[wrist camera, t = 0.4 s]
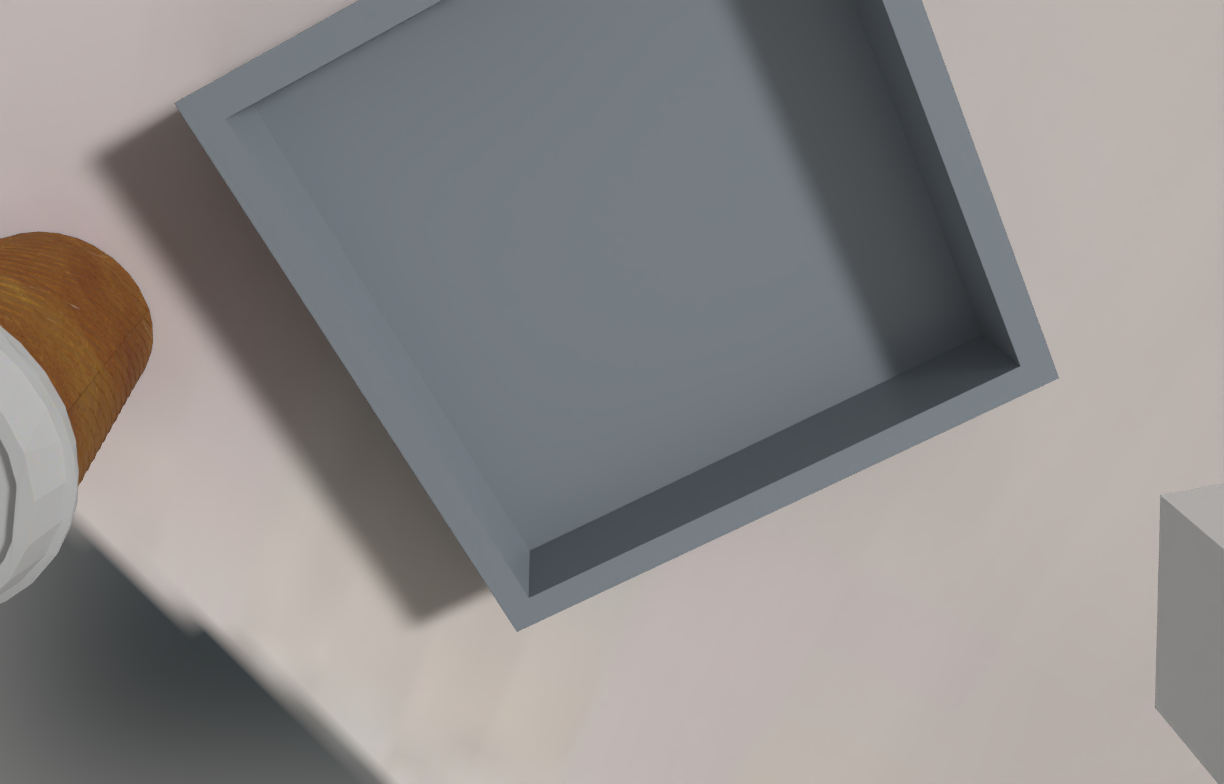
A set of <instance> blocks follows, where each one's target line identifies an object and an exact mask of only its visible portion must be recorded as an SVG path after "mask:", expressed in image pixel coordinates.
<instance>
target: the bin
mask: <svg viewBox="0 0 1224 784" xmlns="http://www.w3.org/2000/svg"><path fill="white" fill-rule="evenodd" d="M174 104H175V105H176V107H177V108H178V110H179V111H180V113H181V114H182V116H183V117H184V119H185V121H186V122H187V124H188V125H189V127H190V128H191V130H192V131H193V133H194V134H195V136H196V138H197V139H198V141H199V142H200V144H201V145H202V147H203V148H204V150H205V151H206V153H207V154H208V156H209V158H210V159H211V161H212V162H213V164H214V165H215V167H216V168H217V170H218V171H219V173H220V175H221V176H222V178H223V179H224V181H225V182H226V184H227V185H228V187H229V188H230V190H231V191H232V193H233V195H234V196H235V198H236V199H237V201H238V202H239V204H240V205H241V207H242V208H243V210H244V212H245V213H246V215H247V216H248V218H249V219H250V221H251V222H252V224H253V225H254V227H255V229H256V230H257V232H258V233H259V235H260V236H261V238H262V239H263V241H264V242H265V244H266V245H267V247H268V249H269V250H270V252H271V253H272V255H273V256H274V258H275V259H276V261H277V262H278V264H279V266H280V267H281V269H282V270H283V272H284V273H285V275H286V276H287V278H288V279H289V281H290V282H291V284H292V286H293V287H294V289H295V290H296V292H297V293H298V295H299V296H300V298H301V299H302V301H303V303H304V304H305V306H306V307H307V309H308V310H309V312H310V313H311V315H312V316H313V318H314V320H315V321H316V323H317V324H318V326H319V327H320V329H321V330H322V332H323V333H324V335H325V336H326V338H327V340H328V341H329V343H330V344H331V346H332V347H333V349H334V350H335V352H336V353H337V355H338V357H339V358H340V360H341V361H342V363H343V364H344V366H345V367H346V369H347V370H348V372H349V373H350V375H351V377H352V378H353V380H354V381H355V383H356V384H357V386H358V387H359V389H360V390H361V392H362V394H363V395H364V397H365V398H366V400H367V401H368V403H369V404H370V406H371V407H372V409H373V411H374V412H375V414H376V415H377V417H378V418H379V420H380V421H381V423H382V424H383V426H384V427H385V429H386V431H387V432H388V434H389V435H390V437H391V438H392V440H393V441H394V443H395V444H396V446H397V448H398V449H399V451H400V452H401V454H402V455H403V457H404V458H405V460H406V461H407V463H408V464H409V466H410V468H411V469H412V471H413V472H414V474H415V475H416V477H417V478H418V480H419V481H420V483H421V485H422V486H423V488H424V489H425V491H426V492H427V494H428V495H429V497H430V498H431V500H432V502H433V503H434V505H435V506H436V508H437V509H438V511H439V512H440V514H441V515H442V517H443V518H444V520H445V522H446V523H447V525H448V526H449V528H450V529H451V531H452V532H453V534H454V535H455V537H456V539H457V540H458V542H459V543H460V545H461V546H462V548H463V549H464V551H465V552H466V554H467V555H468V557H469V559H470V560H471V562H472V563H473V565H474V566H475V568H476V569H477V571H478V572H479V574H480V576H481V577H482V579H483V580H484V582H485V583H486V585H487V586H488V588H489V589H490V591H491V593H492V594H493V596H494V597H495V599H496V600H497V602H498V603H499V605H500V606H501V608H502V609H503V611H504V613H505V614H506V616H507V617H508V619H509V620H510V622H511V623H512V625H513V626H514V628H515V630H516V631H517V632H518V631H520V630H522V629H524V628H526V627H528V626H530V625H533V624H535V623H537V622H539V621H541V620H543V619H545V618H548V617H550V616H552V615H554V614H556V613H558V612H560V611H562V610H565V609H567V608H569V607H571V606H573V605H575V604H577V603H580V602H582V601H584V600H586V599H588V598H590V597H592V596H595V595H597V594H599V593H601V592H603V591H605V590H607V589H609V588H612V587H614V586H616V585H618V584H620V583H622V582H624V581H627V580H629V579H631V578H633V577H635V576H637V575H639V574H642V573H644V572H646V571H648V570H650V569H652V568H654V567H656V566H659V565H661V564H663V563H665V562H667V561H669V560H671V559H674V558H676V557H678V556H680V555H682V554H684V553H686V552H688V551H691V550H693V549H695V548H697V547H699V546H701V545H703V544H706V543H708V542H710V541H712V540H714V539H716V538H718V537H721V536H723V535H725V534H727V533H729V532H731V531H733V530H735V529H738V528H740V527H742V526H744V525H746V524H748V523H750V522H753V521H755V520H757V519H759V518H761V517H763V516H765V515H768V514H770V513H772V512H774V511H776V510H778V509H780V508H782V507H785V506H787V505H789V504H791V503H793V502H795V501H797V500H800V499H802V498H804V497H806V496H808V495H810V494H812V493H815V492H817V491H819V490H821V489H823V488H825V487H827V486H829V485H832V484H834V483H836V482H838V481H840V480H842V479H844V478H847V477H849V476H851V475H853V474H855V473H857V472H859V471H862V470H864V469H866V468H868V467H870V466H872V465H874V464H876V463H879V462H881V461H883V460H885V459H887V458H889V457H891V456H894V455H896V454H898V453H900V452H902V451H904V450H906V449H909V448H911V447H913V446H915V445H917V444H919V443H921V442H923V441H926V440H928V439H930V438H932V437H934V436H936V435H938V434H941V433H943V432H945V431H947V430H949V429H951V428H953V427H956V426H958V425H960V424H962V423H964V422H966V421H968V420H970V419H973V418H975V417H977V416H979V415H981V414H983V413H985V412H988V411H990V410H992V409H994V408H996V407H998V406H1000V405H1002V404H1005V403H1007V402H1009V401H1011V400H1013V399H1015V398H1017V397H1020V396H1022V395H1024V394H1026V393H1028V392H1030V391H1032V390H1035V389H1037V388H1039V387H1041V386H1043V385H1045V384H1047V383H1049V382H1052V381H1054V380H1056V379H1058V378H1059V377H1058V374H1057V371H1056V369H1055V366H1054V363H1053V360H1052V358H1051V355H1050V352H1049V349H1048V347H1047V344H1046V341H1045V338H1044V336H1043V333H1042V330H1041V327H1040V325H1039V322H1038V319H1037V316H1036V314H1035V311H1034V308H1033V305H1032V303H1031V300H1030V297H1029V294H1028V292H1027V289H1026V286H1025V283H1024V281H1023V278H1022V275H1021V272H1020V270H1019V267H1018V264H1017V261H1016V259H1015V256H1014V253H1013V250H1012V248H1011V245H1010V242H1009V239H1008V237H1007V234H1006V231H1005V228H1004V226H1003V223H1002V220H1001V217H1000V215H999V212H998V209H997V206H996V204H995V201H994V198H993V195H992V193H991V190H990V187H989V184H988V182H987V179H986V176H985V173H984V171H983V168H982V165H981V162H980V160H979V157H978V154H977V151H976V149H975V146H974V143H973V140H972V138H971V135H970V132H969V129H968V127H967V124H966V121H965V118H964V116H963V113H962V110H961V107H960V105H959V102H958V99H957V96H956V94H955V91H954V88H953V85H952V83H951V80H950V77H949V74H948V72H947V69H946V66H945V63H944V61H943V58H942V55H941V52H940V50H939V47H938V44H937V42H936V39H935V36H934V33H933V31H932V28H931V25H930V22H929V20H928V17H927V14H926V11H925V9H924V6H923V3H922V0H359V1H357V2H356V3H354V4H352V5H350V6H348V7H347V8H345V9H343V10H341V11H339V12H338V13H336V14H334V15H332V16H330V17H329V18H327V19H325V20H323V21H321V22H320V23H318V24H316V25H314V26H312V27H311V28H309V29H307V30H305V31H303V32H302V33H300V34H298V35H296V36H294V37H293V38H291V39H289V40H287V41H285V42H284V43H282V44H280V45H278V46H276V47H275V48H273V49H271V50H269V51H267V52H266V53H264V54H262V55H260V56H258V57H257V58H255V59H253V60H251V61H249V62H248V63H246V64H244V65H242V66H240V67H239V68H237V69H235V70H233V71H231V72H230V73H228V74H226V75H224V76H222V77H221V78H219V79H217V80H215V81H213V82H212V83H210V84H208V85H206V86H204V87H203V88H201V89H199V90H197V91H195V92H194V93H192V94H190V95H188V96H186V97H185V98H183V99H181V100H179V101H177V102H175V103H174Z"/></svg>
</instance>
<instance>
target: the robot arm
mask: <svg viewBox="0 0 1224 784" xmlns="http://www.w3.org/2000/svg"><path fill="white" fill-rule="evenodd" d="M1155 708H1156V709H1157V711H1158V712H1159V713H1160V714H1161V715H1162V717H1163V718H1164V719H1165V720H1166V721H1167V723H1168V724H1169V725H1170V726H1171V727H1172V729H1173V730H1174V731H1175V732H1176V733H1177V735H1178V736H1179V737H1180V738H1181V739H1182V741H1183V742H1184V743H1185V744H1186V746H1187V747H1188V748H1189V749H1190V750H1191V752H1192V753H1193V754H1194V755H1195V756H1196V758H1197V759H1198V760H1199V761H1200V762H1201V764H1202V765H1203V766H1204V767H1205V768H1206V770H1207V771H1208V772H1209V773H1210V774H1211V776H1212V777H1213V778H1214V779H1215V780H1216V782H1217V783H1218V784H1224V484H1219V485H1213V486H1208V487H1202V488H1197V489H1191V490H1186V491H1181V492H1175V493H1170V494H1164V495H1160V532H1159V571H1158V610H1157V649H1156V689H1155Z"/></svg>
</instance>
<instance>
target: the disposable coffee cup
mask: <svg viewBox="0 0 1224 784" xmlns="http://www.w3.org/2000/svg"><path fill="white" fill-rule="evenodd" d="M152 343H153V331H152V321H151V316H150V311H149V308H148V306H147V304H146V302H145V300H144V297H143V295H142V293H141V291H140V289H139V287H138V286H137V284H136V283H135V282H134V280H133V279H132V277H131V276H130V275H129V273H128V272H127V271H126V270H125V269H124V268H122V267H121V266H120V265H119V264H118V263H117V262H116V261H115V260H114V259H113V258H112V257H110V256H109V255H107V254H105V253H104V252H102V251H101V250H99V249H98V248H96V247H95V246H93V245H91V244H89V243H87V242H84V241H82V240H80V239H78V238H74V237H70V236H66V235H63V234H59V233H49V232H31V233H21V234H17V235H13V236H10V237H5V238H1V239H0V604H1V603H3V602H5V601H7V600H8V599H10V598H11V597H13V596H14V595H16V594H17V593H19V592H20V591H21V590H23V589H24V588H26V587H27V586H29V585H30V584H32V583H33V582H34V580H35V579H36V578H37V577H38V576H39V574H40V573H41V572H42V571H43V570H44V569H45V567H46V566H47V565H48V564H49V563H50V562H51V561H52V559H53V558H54V557H55V556H56V555H57V553H58V551H59V549H60V547H61V545H62V543H63V541H64V539H65V537H66V535H67V533H68V531H69V529H70V527H71V523H72V519H73V516H74V512H75V509H76V505H77V500H78V486H79V484H80V482H81V481H82V480H83V477H84V475H85V473H86V471H87V470H88V469H89V467H90V464H91V462H92V461H93V460H94V459H95V456H96V453H97V452H98V451H99V449H100V448H101V445H102V443H103V442H104V441H105V438H106V436H107V434H108V433H109V432H110V430H111V427H112V425H113V423H114V422H115V421H116V419H117V417H118V415H119V413H120V412H121V409H122V407H123V406H124V405H125V403H126V400H127V398H128V397H129V396H130V394H131V391H132V390H133V389H134V387H135V385H136V383H137V381H138V380H139V378H140V376H141V375H142V373H143V371H144V370H145V368H146V365H147V362H148V359H149V357H150V354H151V350H152Z"/></svg>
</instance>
